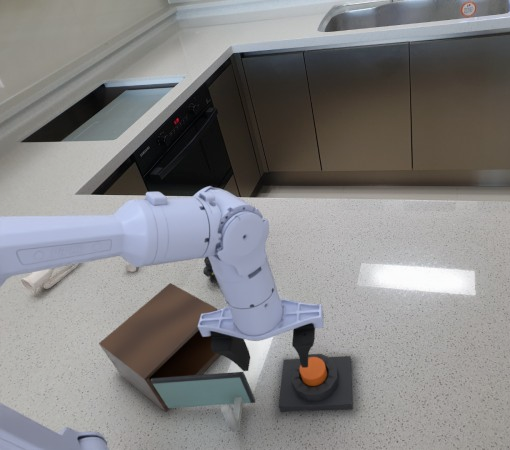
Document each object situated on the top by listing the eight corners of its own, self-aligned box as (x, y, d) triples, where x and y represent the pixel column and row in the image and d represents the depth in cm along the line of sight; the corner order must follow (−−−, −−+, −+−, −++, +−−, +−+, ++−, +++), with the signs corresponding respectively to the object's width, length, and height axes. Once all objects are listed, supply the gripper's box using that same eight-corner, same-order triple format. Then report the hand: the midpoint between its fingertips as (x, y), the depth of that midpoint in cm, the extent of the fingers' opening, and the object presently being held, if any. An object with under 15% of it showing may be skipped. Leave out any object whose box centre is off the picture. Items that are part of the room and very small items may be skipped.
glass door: (251, 434, 60) (238, 407, 56) (159, 440, 62) (140, 413, 58) (255, 399, 64) (243, 371, 60) (169, 405, 66) (151, 378, 62)
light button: (300, 387, 63) (298, 379, 62) (302, 364, 66) (300, 357, 65) (326, 386, 62) (325, 378, 61) (327, 363, 65) (325, 356, 64)
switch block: (280, 411, 64) (276, 399, 62) (285, 364, 69) (281, 352, 68) (352, 409, 62) (350, 397, 60) (351, 361, 68) (349, 348, 66)
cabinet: (232, 343, 74) (217, 308, 69) (166, 412, 67) (144, 378, 62) (186, 316, 81) (170, 282, 76) (121, 376, 73) (98, 343, 68)
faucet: (29, 294, 93) (106, 231, 107) (93, 323, 86) (166, 252, 100) (18, 276, 89) (98, 214, 104) (82, 305, 83) (160, 234, 97)
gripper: (316, 257, 52) (332, 333, 60) (195, 269, 54) (226, 340, 63) (314, 305, 47) (332, 380, 55) (179, 315, 49) (216, 386, 57)
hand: (275, 362), depth 59 cm, fingers open, 7 cm apart
